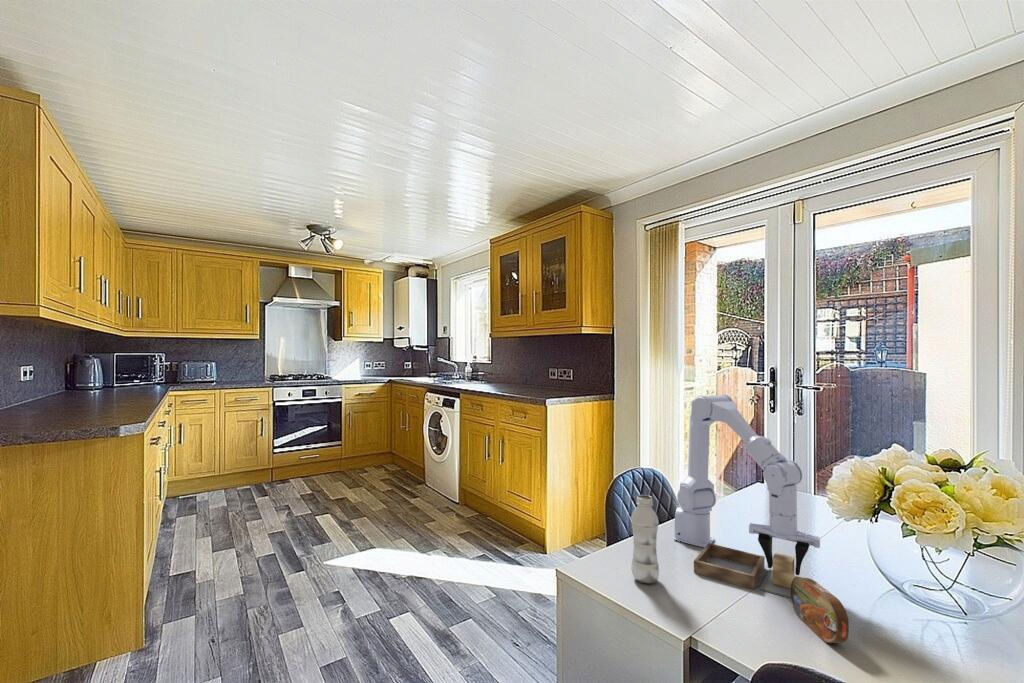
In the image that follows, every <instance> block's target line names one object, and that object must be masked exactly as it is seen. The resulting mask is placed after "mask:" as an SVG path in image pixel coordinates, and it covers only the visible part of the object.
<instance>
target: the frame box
mask: <svg viewBox="0 0 1024 683" xmlns="http://www.w3.org/2000/svg"><path fill="white" fill-rule="evenodd" d="M710 556H711V557H713V556H714V558H718V559H721V560H726V561H730V562H733V563H737V564H742V565H744V566H745V565H746V566H750V567H752V568H753V569H752V572H751V573H747V572H743V571H740V570H736V569H732V568H728V567H725V566H720V565H716V564H714V563H710V562H708V561H709V559H710V558H711V557H710ZM707 560H708V561H707ZM765 564H766V563H765V555H759V554H755V553H752V552H748V551H747V552H746V551H744V550H738V549H736V548H735V549H734V548H731V547H727V546H723V545H722V546H721V545H718V544H714V543H711V544H710V543H708V545H707V546H706V547H705V548H704V547H703V549H702V550H701V552H700V553H699V554H698V555H697V557H695V559H693V573H694V572H695V573H694V574H697V573H698V574H697V575H700V574H702V576H705V577H707V576H708V578H711V579H715V580H718V581H721V582H725V583H728V584H732V585H736V586H739V587H744V588H747V589H751V590H753V591H755V589H756V587H757V585H758V583H759V580H760V578H761V577H762V574H763V572H764V571H765Z"/></svg>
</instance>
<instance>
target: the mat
mask: <svg viewBox="0 0 1024 683" xmlns="http://www.w3.org/2000/svg"><path fill="white" fill-rule="evenodd" d="M795 577H799V575H795ZM800 577H801V578H803V577H802V576H800ZM760 591H763V592H767V593H770V594H774V595H778V596H781V597H784V598H788V599H791V595H790V588H787V587H783V586H779V585H775V584H773V569H772V568H768V571H767V573H766V575H765V578H764V580H763V582H762V584H761V587H760Z"/></svg>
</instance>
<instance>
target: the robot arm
mask: <svg viewBox="0 0 1024 683" xmlns="http://www.w3.org/2000/svg"><path fill="white" fill-rule="evenodd" d="M690 409H691V411H690V415H689V429H688V430H689V431H688V432H689V433H688V436H689V437H688V460H687V462H688V463H687V468H688V469H687V476H686V477H685V478H684V479H683V480H682V481H681V482H680V483H679V490H678V492H677V494H676V495H677V496H676V497H677V502H678V504H679V506H677V508H676V510H675V513H674V538H673V540H674V541H676V540H677V542H680V541H681V543H684V544H687V545H688V544H689V545H693V546H696V547H701V548H703V549H704V548H705V547H706V546H707V545H708V543H710V544H713V543H714V541H715V537H711V512H712V511H713V507H715V505H716V503H717V495H716V493H715V484H714V483H713V482H712V481H711V480H710V479H709V463H710V462H709V459H710V458H709V457H710V455H709V454H710V452H709V451H710V426H711V425H713V424H714V423H716V422H721V423H722V422H723V423H725V424H726V425H727V426H729V428H730V429H731V430H732V431H733V432H735V434H736V435H737V436H738V438H740V439H741V440H742V441H743V442H744V443H745V451H746V452H747V453H748V454H749V456H750V457H751V458H752V459H753V460H754V462H756V464H757V465H758V466H759V467H760V468H761V469H762V470H763V472H762V476H763V479H764V481H765V483H766V486H767V490H768V502H769V507H768V510H769V511H768V513H769V517H768V518H769V525H767V524H759V523H758V524H757V523H752V522H751V523H749V525H748V533H749V534H751V535H752V534H753V535H755V534H757V535H758V537H757V540H758V543H759V546H760V547H761V549H762V551H763V553H764V558H765V559H766V563H767V568H768V569H773V539H774V538H775V539H779V540H782V541H790V542H793V543H795V546H794V552H795V567H794V574H795V576H800V574H801V568H802V562H803V560H804V558H805V557H806V555H807V553H808V552H809V551H808V550H809V548H810V546H813V547H814V548H815V549H820V548H821V537H820V536H816V535H812V534H809V533H806V532H802V531H800V530H798V502H797V501H798V500H797V499H798V498H797V497H798V493H797V492H798V489H797V488H798V486H797V485H799V484H801V482H802V479H803V473H802V469H801V467H800V466H799V464H798V463H797V462H796V461H794V460H791V459H787V457H786V456H784V455H783V454H782V453H780V452H779V450H778V449H777V448H776V446H774V445H773V443H772V440H771V439H770V438H767V437H766V436H762V435H758V434H757V433H756V432H755V431H754V428H752V426H751V425H750V424H749V423H748V421H747V420H746V419H745V417H743V415H742V414H741V413H740V411H739V410H738V404H737V403H736V401H734V400H733V399H732V397H731V396H729V395H727V394H720V395H719V394H717V395H715V394H714V395H698V396H696V397H695V398H693V400H691V408H690Z"/></svg>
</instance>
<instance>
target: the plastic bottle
mask: <svg viewBox="0 0 1024 683" xmlns="http://www.w3.org/2000/svg"><path fill="white" fill-rule="evenodd" d="M635 502H636V503H635V505H637V506H636V507H635V508H634V510H633V511H632V513H631V516H630V522H631V528H632V535H633V536H632V538H633V549H632V551H633V553H632V560H631V565H630V566H631V568H630V569H631V574H632V576H633V578H634V579H635V580H636V581H638V582H640V583H643V584H654V583H656V582H657V580H659V577H660V566H659V565H660V564H659V562H658V553H657V540H658V539H657V536H658V528H659V517H658V515H657V512H656V511H655V510H654V508H653V506H654V503H653V497H652V496H651V495H647V494H639V495H637V496H636V501H635Z"/></svg>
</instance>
